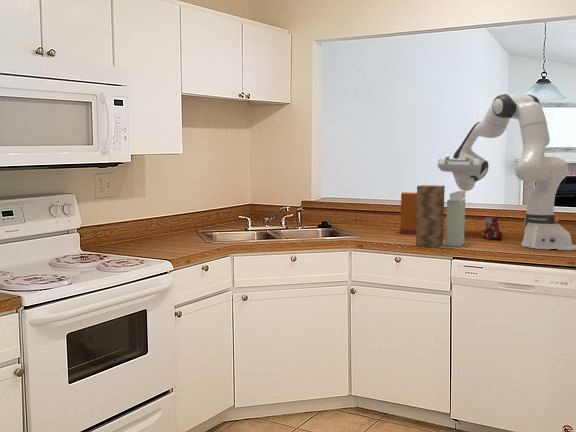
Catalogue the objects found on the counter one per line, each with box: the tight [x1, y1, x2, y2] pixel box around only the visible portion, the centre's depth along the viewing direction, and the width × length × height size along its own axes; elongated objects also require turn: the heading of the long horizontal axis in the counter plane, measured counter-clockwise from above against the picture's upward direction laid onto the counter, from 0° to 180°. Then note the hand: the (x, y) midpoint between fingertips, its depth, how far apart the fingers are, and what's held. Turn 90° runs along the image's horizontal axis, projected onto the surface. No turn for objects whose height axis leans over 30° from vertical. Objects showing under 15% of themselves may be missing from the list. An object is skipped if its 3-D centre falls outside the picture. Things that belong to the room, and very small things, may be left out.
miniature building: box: [399, 192, 417, 236], centre depth 340 cm, size 10×9×20 cm
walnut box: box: [415, 184, 446, 248], centre depth 300 cm, size 10×9×26 cm
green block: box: [445, 198, 466, 247], centre depth 302 cm, size 6×10×20 cm, turn 155°
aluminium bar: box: [449, 190, 467, 201], centre depth 303 cm, size 3×20×3 cm, turn 155°
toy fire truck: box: [480, 215, 503, 241], centre depth 321 cm, size 7×12×10 cm, turn 6°
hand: (457, 156), depth 318 cm, fingers open, 8 cm apart
